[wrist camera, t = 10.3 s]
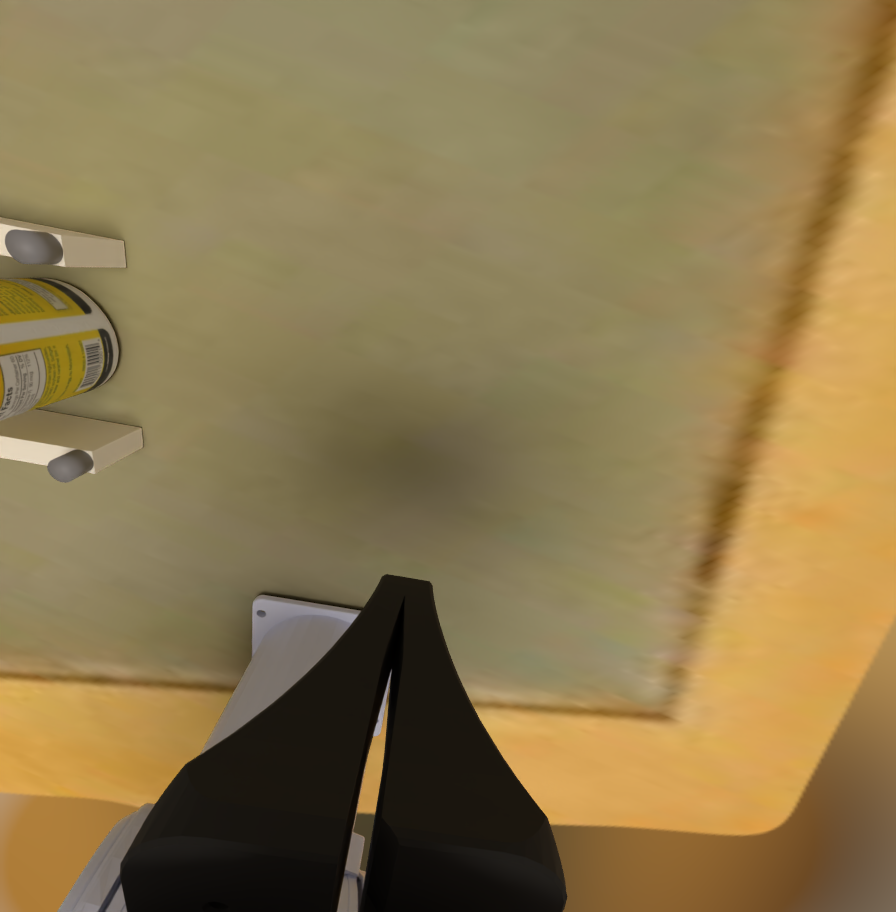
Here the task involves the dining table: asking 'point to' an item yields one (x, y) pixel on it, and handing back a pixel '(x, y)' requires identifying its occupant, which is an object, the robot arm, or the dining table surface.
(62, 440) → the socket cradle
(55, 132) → the dining table surface
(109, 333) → the supplement bottle
